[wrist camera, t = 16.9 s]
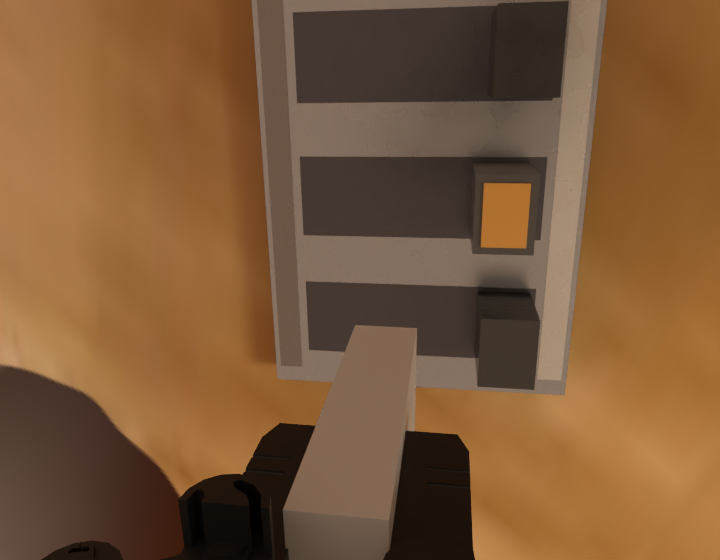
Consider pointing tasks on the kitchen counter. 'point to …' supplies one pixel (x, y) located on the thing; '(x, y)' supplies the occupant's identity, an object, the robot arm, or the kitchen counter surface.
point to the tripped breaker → (504, 208)
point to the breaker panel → (424, 179)
